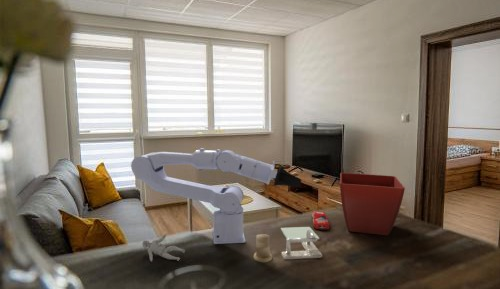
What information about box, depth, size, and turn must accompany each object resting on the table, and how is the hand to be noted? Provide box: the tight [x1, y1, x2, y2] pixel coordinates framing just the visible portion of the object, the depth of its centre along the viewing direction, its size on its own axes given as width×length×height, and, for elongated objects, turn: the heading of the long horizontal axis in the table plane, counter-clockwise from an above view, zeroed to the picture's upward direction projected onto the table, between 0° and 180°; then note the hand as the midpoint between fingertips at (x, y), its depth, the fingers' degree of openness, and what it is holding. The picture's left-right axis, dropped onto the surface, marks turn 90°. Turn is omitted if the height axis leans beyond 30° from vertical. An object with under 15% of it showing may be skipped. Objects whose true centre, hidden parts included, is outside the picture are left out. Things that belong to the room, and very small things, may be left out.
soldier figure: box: [141, 233, 186, 263], centre depth 85 cm, size 8×5×12 cm
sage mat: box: [280, 226, 320, 241], centre depth 102 cm, size 10×10×1 cm
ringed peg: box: [253, 233, 273, 263], centre depth 85 cm, size 5×5×6 cm
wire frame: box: [281, 230, 323, 260], centre depth 89 cm, size 10×9×5 cm
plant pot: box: [339, 172, 406, 236], centre depth 108 cm, size 19×19×17 cm
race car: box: [311, 210, 330, 231], centre depth 112 cm, size 13×5×4 cm, turn 172°
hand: (298, 183), depth 94 cm, fingers open, 7 cm apart
